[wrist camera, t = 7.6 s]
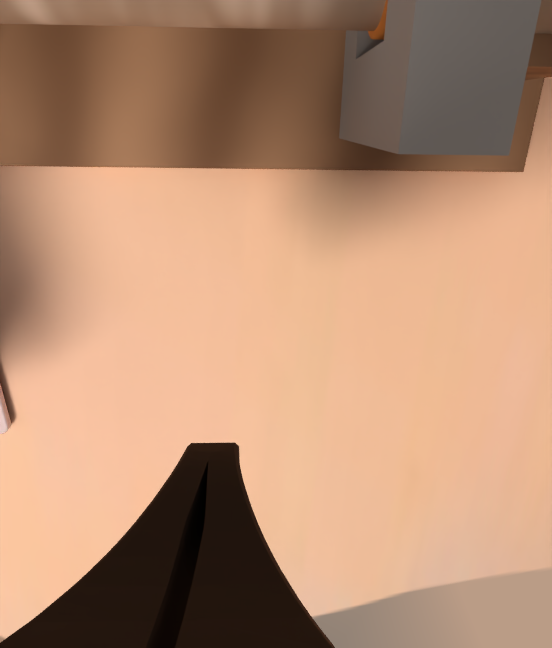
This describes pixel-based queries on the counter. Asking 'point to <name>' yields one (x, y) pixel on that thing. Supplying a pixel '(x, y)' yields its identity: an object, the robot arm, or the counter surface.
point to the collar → (439, 77)
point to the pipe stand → (205, 86)
